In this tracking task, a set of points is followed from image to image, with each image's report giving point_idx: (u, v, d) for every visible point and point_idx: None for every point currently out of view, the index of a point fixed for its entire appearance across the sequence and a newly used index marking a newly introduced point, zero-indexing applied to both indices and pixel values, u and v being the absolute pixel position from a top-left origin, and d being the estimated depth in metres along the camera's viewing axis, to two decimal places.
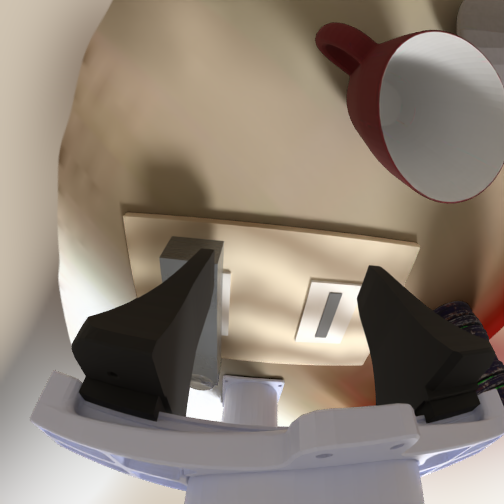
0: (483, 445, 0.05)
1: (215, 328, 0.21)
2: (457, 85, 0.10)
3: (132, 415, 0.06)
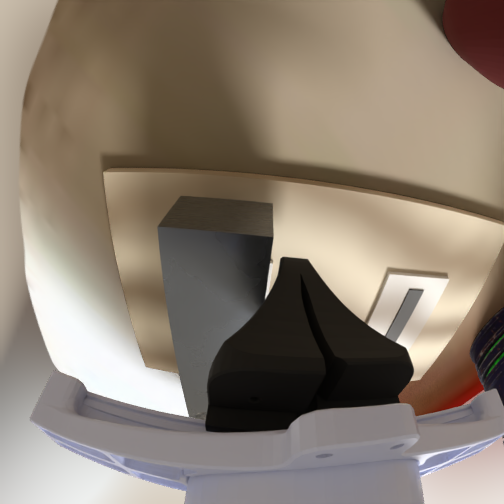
0: (483, 445, 0.05)
1: None
2: None
3: None
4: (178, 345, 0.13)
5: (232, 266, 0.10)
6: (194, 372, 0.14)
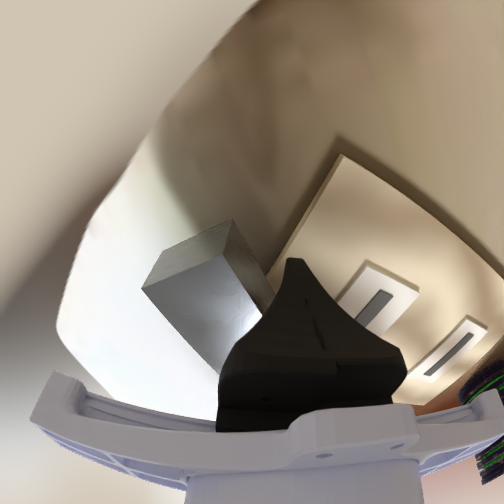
0: (483, 445, 0.05)
1: None
2: None
3: None
4: None
5: (211, 293, 0.11)
6: None
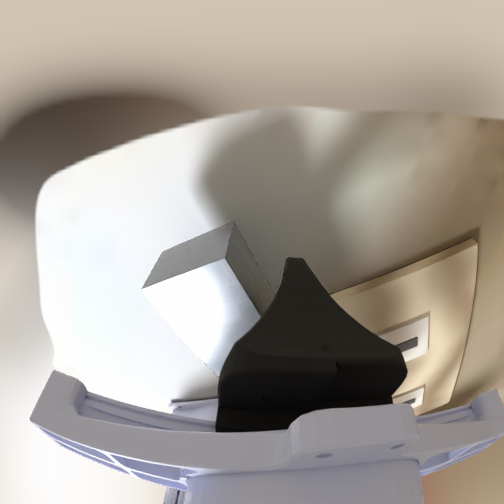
0: (483, 445, 0.05)
1: None
2: None
3: None
4: None
5: (211, 296, 0.11)
6: None
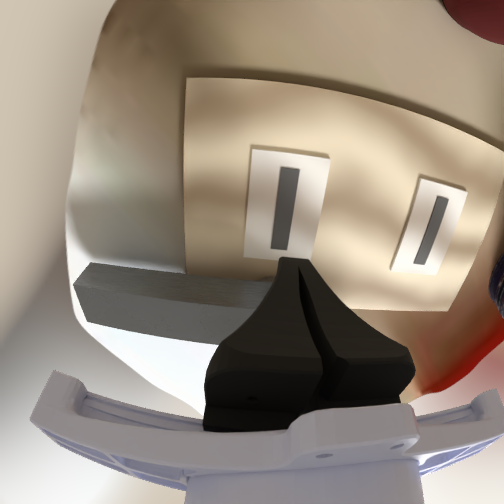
0: (483, 445, 0.05)
1: (143, 297, 0.18)
2: None
3: None
4: (153, 333, 0.20)
5: (91, 300, 0.19)
6: (180, 332, 0.20)
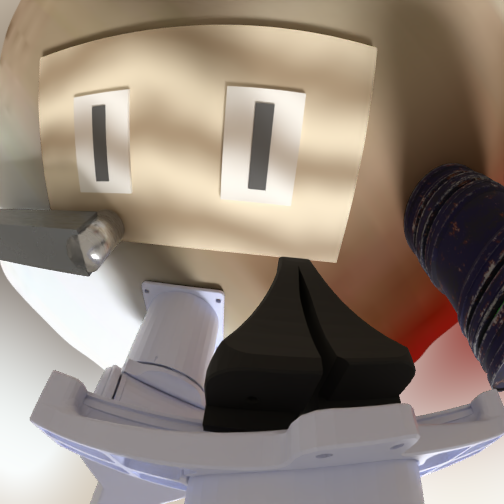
0: (483, 445, 0.05)
1: (6, 225, 0.17)
2: None
3: None
4: (18, 261, 0.19)
5: None
6: (31, 258, 0.18)
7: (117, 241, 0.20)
